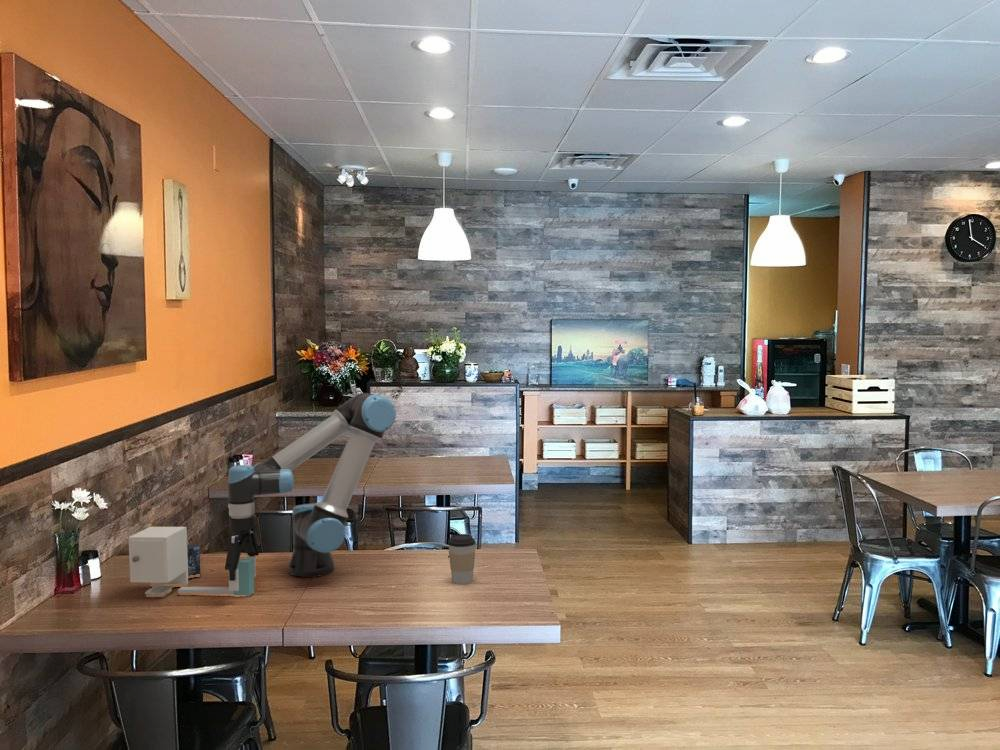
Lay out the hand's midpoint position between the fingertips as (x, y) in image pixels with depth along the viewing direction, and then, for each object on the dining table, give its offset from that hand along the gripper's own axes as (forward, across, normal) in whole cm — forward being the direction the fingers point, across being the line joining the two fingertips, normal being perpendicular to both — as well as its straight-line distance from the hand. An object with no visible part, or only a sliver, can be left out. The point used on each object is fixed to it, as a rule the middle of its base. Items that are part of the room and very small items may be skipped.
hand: (242, 583), depth 243 cm
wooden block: (+4, 0, -27) cm, 28 cm away
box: (+4, -16, -26) cm, 31 cm away
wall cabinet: (+4, -1, -27) cm, 28 cm away
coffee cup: (+3, -16, +67) cm, 69 cm away
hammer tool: (+4, 0, -9) cm, 9 cm away
